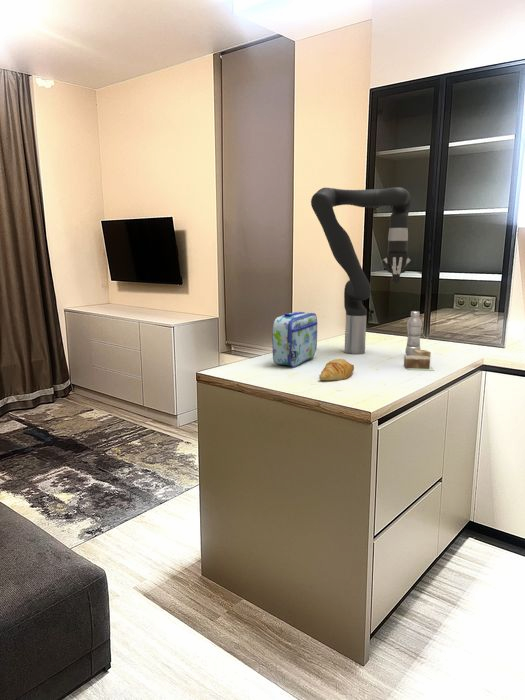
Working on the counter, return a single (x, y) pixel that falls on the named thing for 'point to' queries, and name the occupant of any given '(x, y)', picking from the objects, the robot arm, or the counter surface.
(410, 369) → the pad
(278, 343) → the lunch box
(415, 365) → the walnut block
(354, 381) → the counter surface
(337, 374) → the croissant
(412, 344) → the plastic bottle
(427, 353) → the oak block
